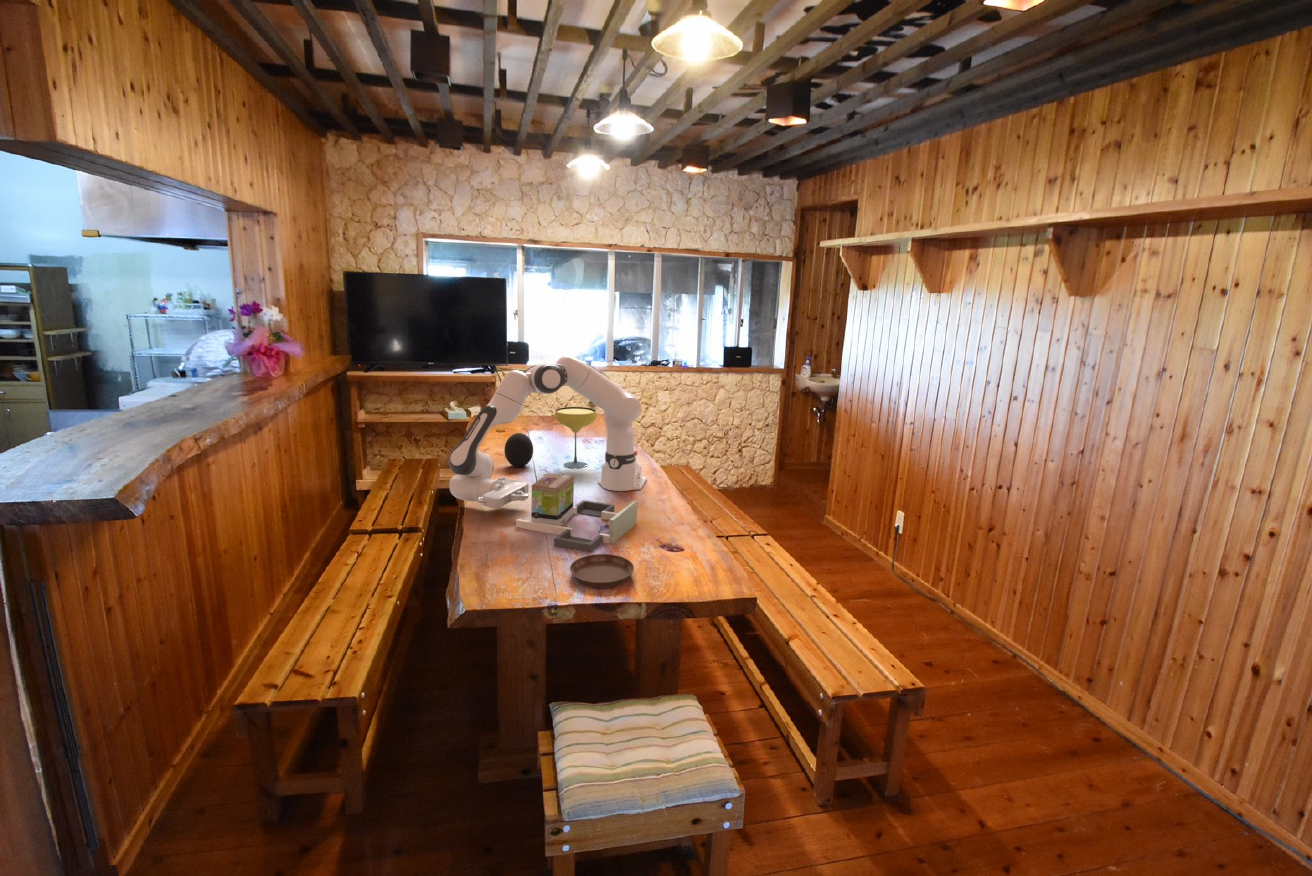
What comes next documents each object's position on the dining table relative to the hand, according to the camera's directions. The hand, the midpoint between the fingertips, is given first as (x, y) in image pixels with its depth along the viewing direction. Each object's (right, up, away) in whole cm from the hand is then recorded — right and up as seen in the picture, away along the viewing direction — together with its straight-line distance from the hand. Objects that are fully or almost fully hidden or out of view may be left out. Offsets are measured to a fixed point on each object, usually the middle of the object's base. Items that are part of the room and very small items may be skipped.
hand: (526, 497), depth 219 cm
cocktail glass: (+8, +8, +67) cm, 68 cm away
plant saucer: (+30, -18, -42) cm, 54 cm away
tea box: (+10, -8, -2) cm, 13 cm away
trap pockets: (+22, -9, -7) cm, 24 cm away
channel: (+18, -9, -5) cm, 21 cm away
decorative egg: (-16, +8, +62) cm, 64 cm away
